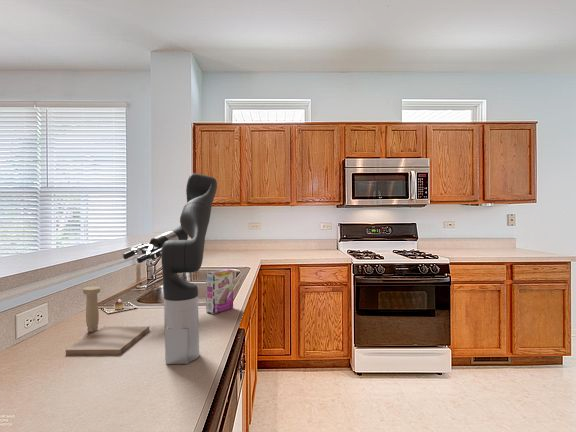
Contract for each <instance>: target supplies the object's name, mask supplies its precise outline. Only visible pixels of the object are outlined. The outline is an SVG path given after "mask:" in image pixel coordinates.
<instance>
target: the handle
mask: <svg viewBox="0 0 576 432" xmlns="http://www.w3.org/2000/svg"><path fill="white" fill-rule="evenodd" d="M82 292H83V293H82V294H84V295H85V296H86V298H85V299H86V303H85V304H86V305H85V307H86V308H85V323H86V324H85V325H86V327H87V329H86V330H87V332H88V333H94V332H96V331H97V330H99V318H100V316H99V304H98V303H99V301H98V300H99V299H98V294H99V293H100V292H101V287H100V286H96V285H95V286H93V285H92V286H86V287H83V288H82Z"/></svg>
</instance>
